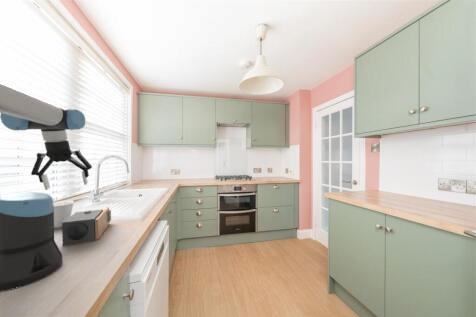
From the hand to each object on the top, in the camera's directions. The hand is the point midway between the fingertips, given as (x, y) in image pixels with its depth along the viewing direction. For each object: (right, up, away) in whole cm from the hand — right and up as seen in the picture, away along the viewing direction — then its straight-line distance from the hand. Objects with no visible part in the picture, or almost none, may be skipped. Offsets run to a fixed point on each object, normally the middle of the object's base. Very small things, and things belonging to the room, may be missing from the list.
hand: (67, 186), depth 85 cm
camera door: (+17, -20, -1) cm, 26 cm away
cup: (-9, -21, +6) cm, 23 cm away
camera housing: (+13, -21, -6) cm, 25 cm away
